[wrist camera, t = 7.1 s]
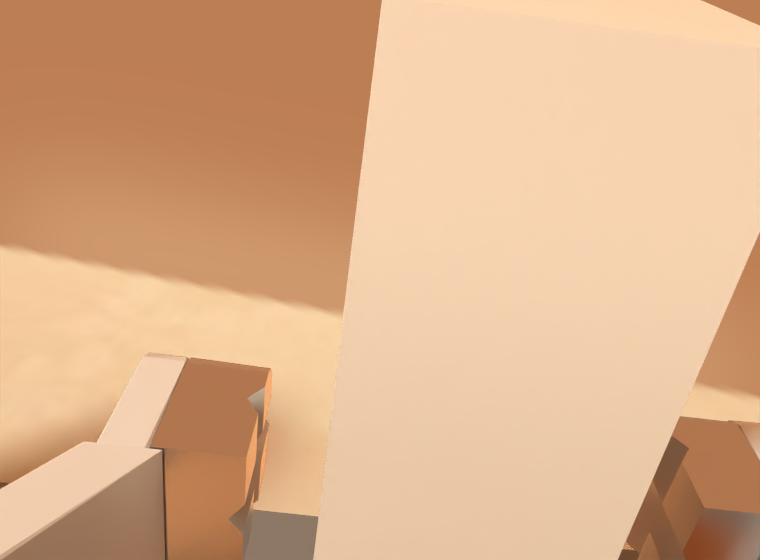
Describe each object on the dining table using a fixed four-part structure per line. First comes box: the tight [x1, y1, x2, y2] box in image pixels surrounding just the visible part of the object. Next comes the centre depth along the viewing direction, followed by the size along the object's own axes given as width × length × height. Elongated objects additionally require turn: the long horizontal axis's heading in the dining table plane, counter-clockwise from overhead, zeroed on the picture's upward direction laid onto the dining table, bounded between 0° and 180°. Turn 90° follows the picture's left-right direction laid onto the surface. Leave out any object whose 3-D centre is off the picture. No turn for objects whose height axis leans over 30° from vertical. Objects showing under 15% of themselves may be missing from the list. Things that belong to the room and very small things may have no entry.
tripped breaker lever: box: [313, 0, 760, 560], centre depth 9 cm, size 4×4×12 cm
